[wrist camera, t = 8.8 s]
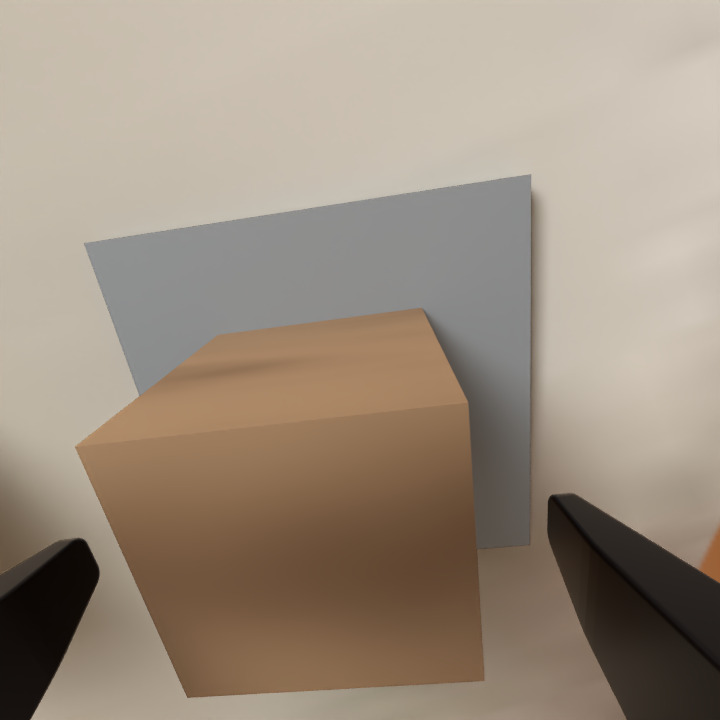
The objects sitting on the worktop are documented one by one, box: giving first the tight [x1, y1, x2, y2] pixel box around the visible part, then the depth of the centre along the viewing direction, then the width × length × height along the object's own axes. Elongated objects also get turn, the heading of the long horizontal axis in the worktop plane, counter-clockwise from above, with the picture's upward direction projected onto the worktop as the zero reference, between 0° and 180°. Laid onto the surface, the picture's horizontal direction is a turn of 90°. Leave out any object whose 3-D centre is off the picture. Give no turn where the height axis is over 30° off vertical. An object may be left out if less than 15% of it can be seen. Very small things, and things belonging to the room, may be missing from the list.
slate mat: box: [84, 174, 531, 549], centre depth 13 cm, size 12×12×1 cm
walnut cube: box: [75, 308, 484, 698], centre depth 10 cm, size 6×6×6 cm
